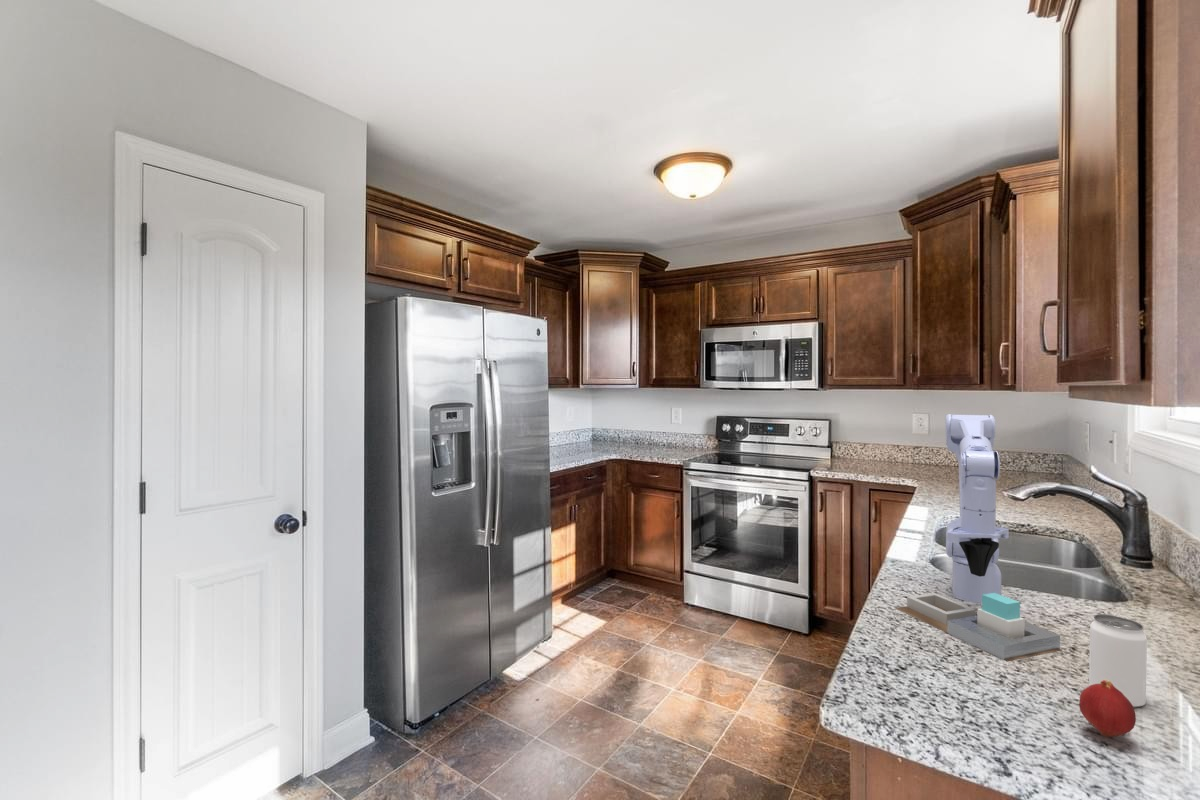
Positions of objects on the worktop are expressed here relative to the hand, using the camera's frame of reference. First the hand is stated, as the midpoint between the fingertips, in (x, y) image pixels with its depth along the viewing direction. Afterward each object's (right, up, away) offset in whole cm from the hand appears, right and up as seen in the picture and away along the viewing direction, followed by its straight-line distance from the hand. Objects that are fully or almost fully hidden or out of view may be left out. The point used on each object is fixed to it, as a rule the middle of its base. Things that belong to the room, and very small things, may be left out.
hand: (977, 574), depth 110 cm
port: (-1, -11, -8) cm, 14 cm away
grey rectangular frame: (-5, -10, +4) cm, 12 cm away
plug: (-1, -10, -8) cm, 13 cm away
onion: (-7, -11, -35) cm, 37 cm away
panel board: (-3, -11, -3) cm, 11 cm away
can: (+4, -11, -26) cm, 28 cm away
